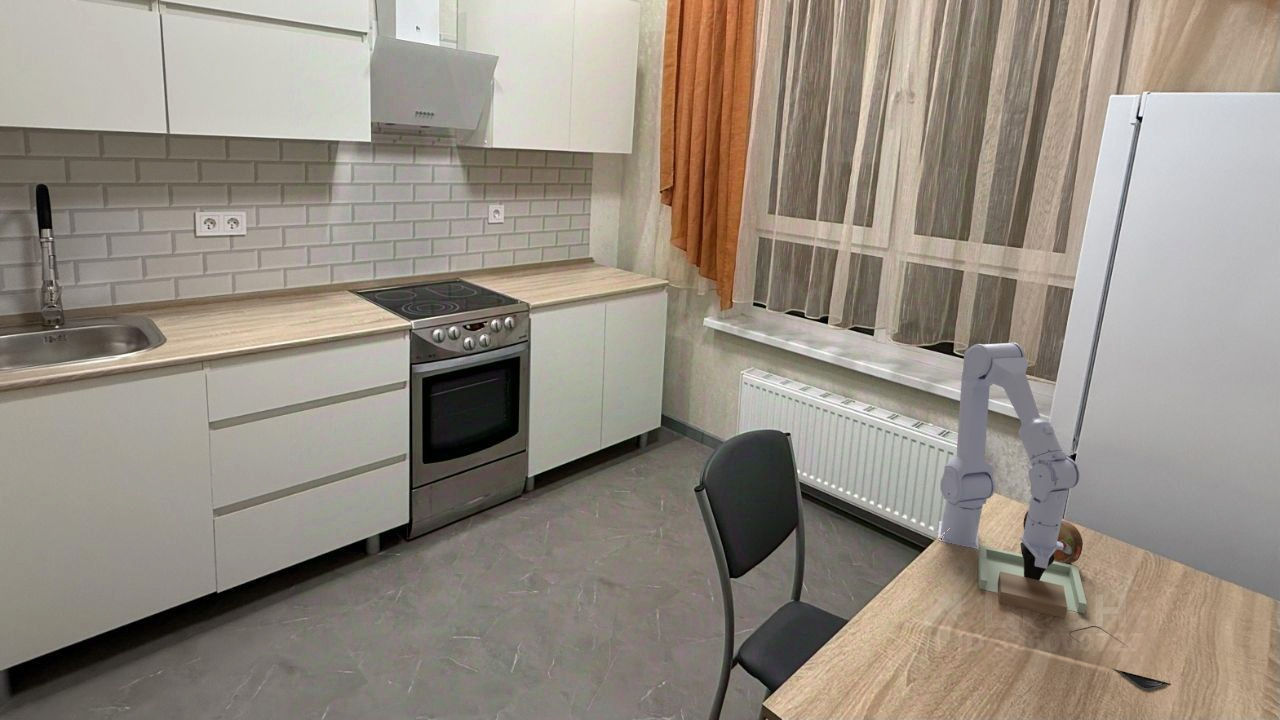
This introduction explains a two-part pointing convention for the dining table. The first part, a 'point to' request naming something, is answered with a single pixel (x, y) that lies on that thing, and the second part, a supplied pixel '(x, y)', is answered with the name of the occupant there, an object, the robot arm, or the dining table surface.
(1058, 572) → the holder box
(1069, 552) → the tin
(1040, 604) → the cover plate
